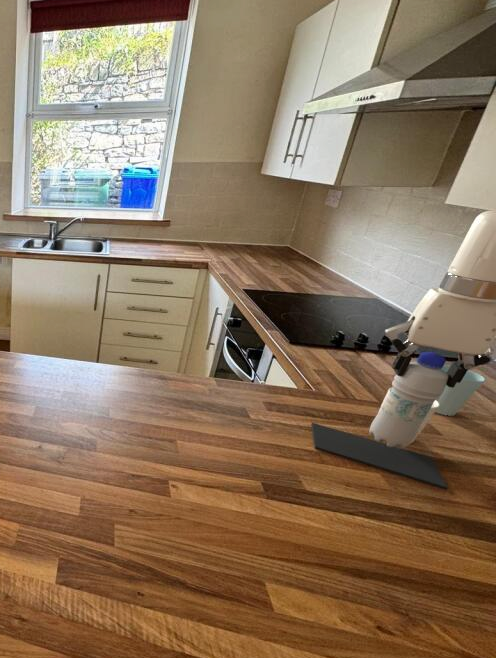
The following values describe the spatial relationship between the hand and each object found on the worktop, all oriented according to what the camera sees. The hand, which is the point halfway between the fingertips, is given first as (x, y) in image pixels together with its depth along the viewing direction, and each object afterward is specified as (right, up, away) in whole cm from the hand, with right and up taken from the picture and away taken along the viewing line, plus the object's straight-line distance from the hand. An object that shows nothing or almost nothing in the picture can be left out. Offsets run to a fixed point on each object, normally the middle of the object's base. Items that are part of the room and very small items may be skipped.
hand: (422, 377), depth 75 cm
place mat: (-1, -17, +8) cm, 19 cm away
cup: (+30, -10, +24) cm, 40 cm away
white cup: (+9, -14, +14) cm, 22 cm away
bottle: (0, -14, +6) cm, 15 cm away
